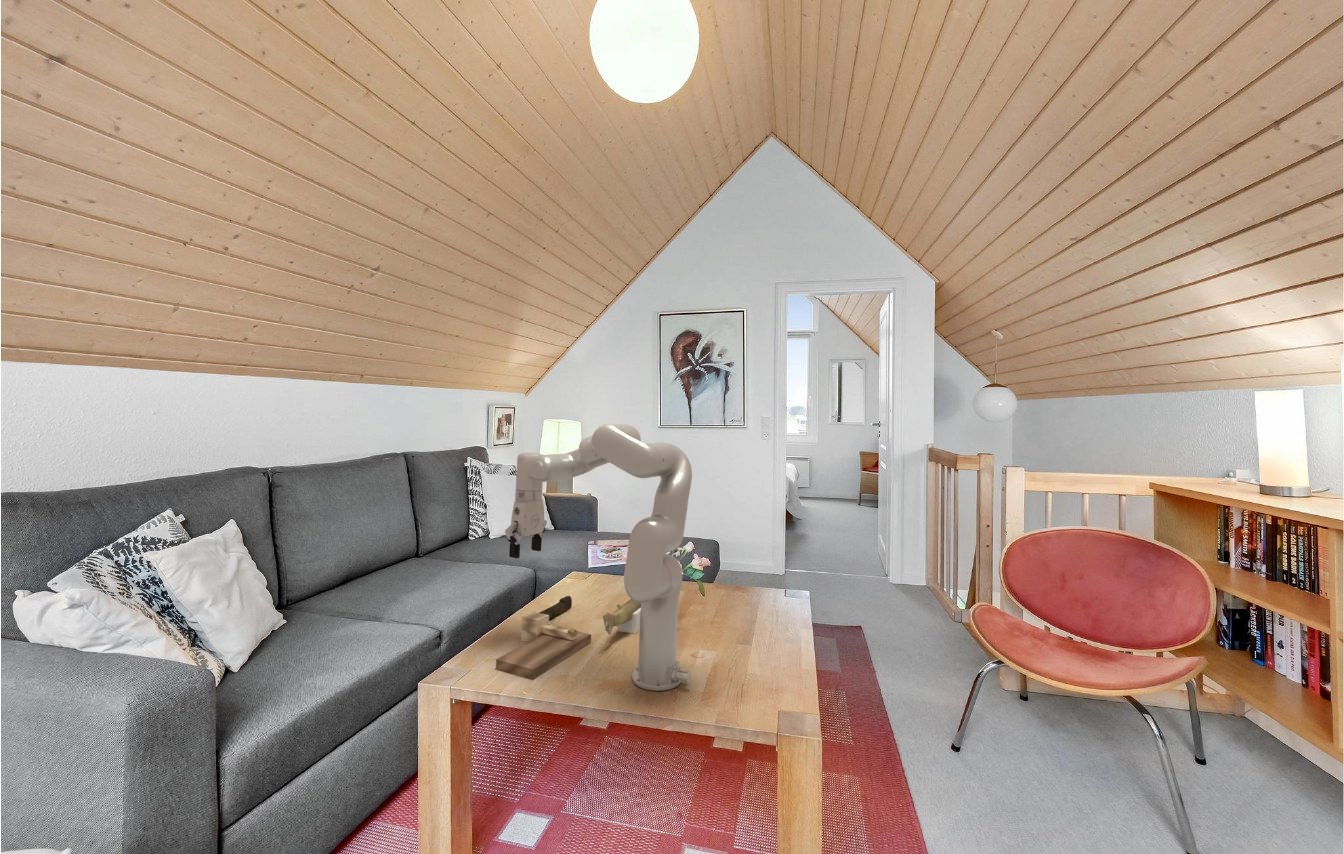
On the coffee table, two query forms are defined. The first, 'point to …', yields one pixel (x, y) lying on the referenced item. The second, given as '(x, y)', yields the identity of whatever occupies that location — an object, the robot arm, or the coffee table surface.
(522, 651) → the board
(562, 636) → the beige block with stick
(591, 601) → the coffee table surface
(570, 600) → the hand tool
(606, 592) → the coffee table surface
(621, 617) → the wood carving
